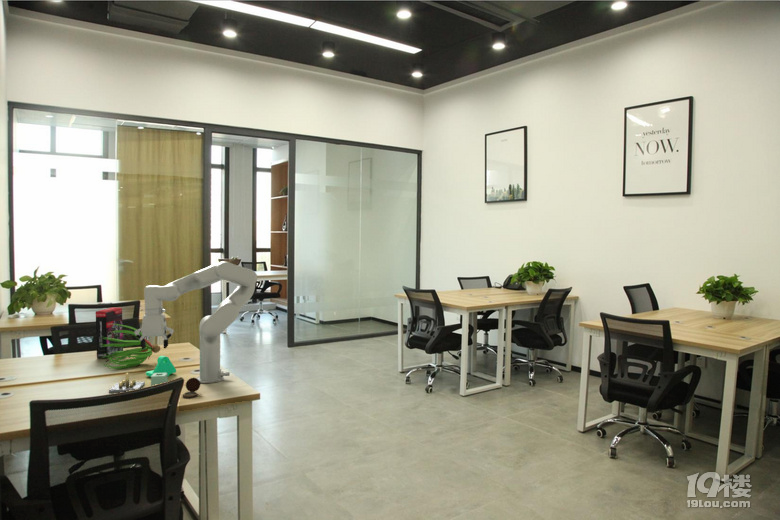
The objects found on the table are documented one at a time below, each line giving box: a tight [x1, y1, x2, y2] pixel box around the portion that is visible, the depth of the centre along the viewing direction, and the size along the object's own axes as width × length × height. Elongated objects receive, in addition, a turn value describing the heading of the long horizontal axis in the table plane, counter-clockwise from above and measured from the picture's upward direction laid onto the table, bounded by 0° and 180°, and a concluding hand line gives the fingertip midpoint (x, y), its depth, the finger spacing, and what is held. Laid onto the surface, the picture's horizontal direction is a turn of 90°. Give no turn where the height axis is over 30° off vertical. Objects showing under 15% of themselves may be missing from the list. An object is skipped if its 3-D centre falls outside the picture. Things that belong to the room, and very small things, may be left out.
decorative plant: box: [101, 324, 162, 370], centre depth 271 cm, size 26×25×30 cm
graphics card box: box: [95, 307, 124, 360], centre depth 294 cm, size 17×7×27 cm, turn 179°
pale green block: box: [150, 373, 168, 387], centre depth 237 cm, size 6×6×5 cm
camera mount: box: [145, 355, 177, 378], centre depth 254 cm, size 12×8×10 cm, turn 146°
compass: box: [182, 377, 202, 399], centre depth 222 cm, size 8×8×7 cm
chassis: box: [108, 372, 146, 394], centre depth 231 cm, size 12×12×7 cm
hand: (154, 348), depth 237 cm, fingers open, 9 cm apart
